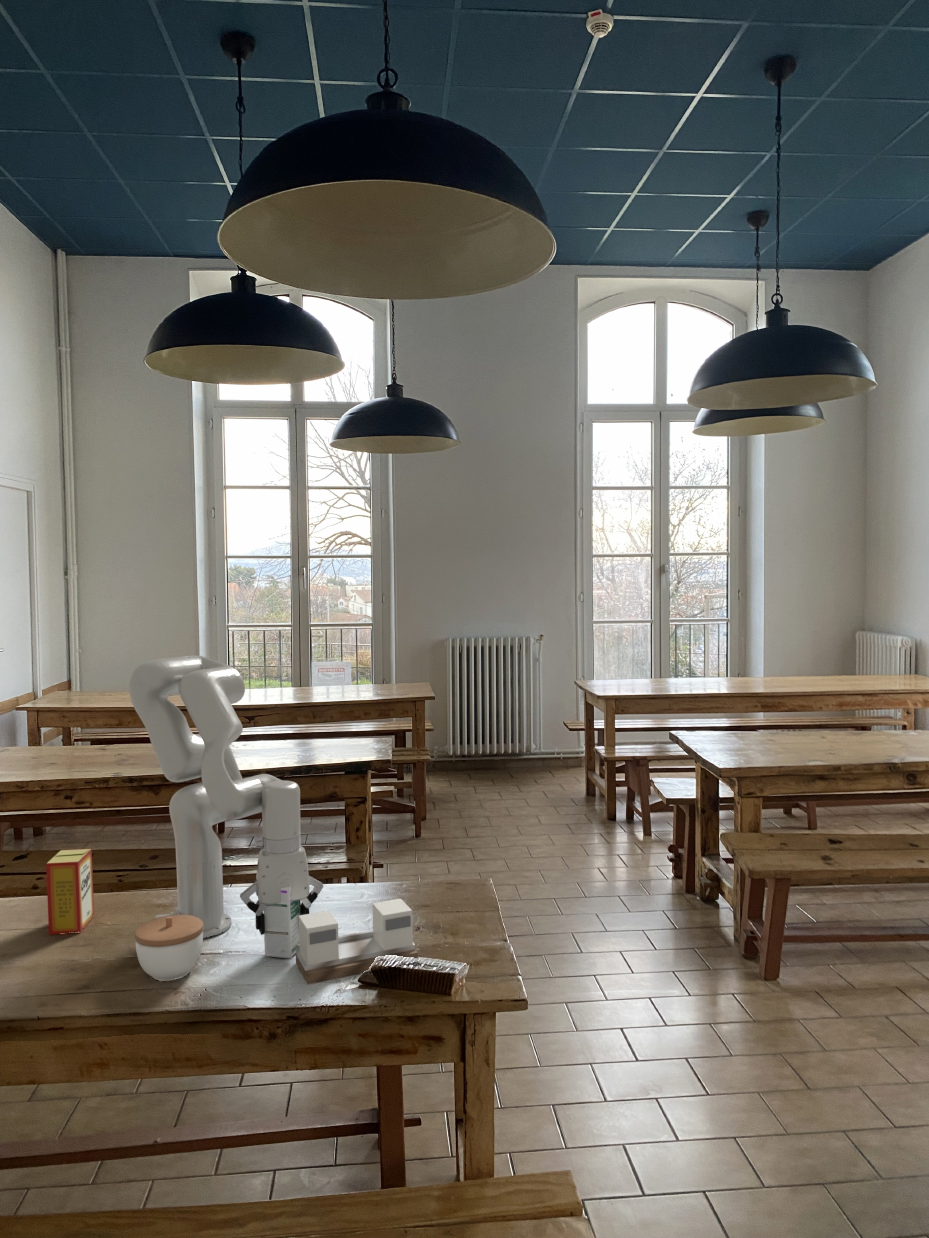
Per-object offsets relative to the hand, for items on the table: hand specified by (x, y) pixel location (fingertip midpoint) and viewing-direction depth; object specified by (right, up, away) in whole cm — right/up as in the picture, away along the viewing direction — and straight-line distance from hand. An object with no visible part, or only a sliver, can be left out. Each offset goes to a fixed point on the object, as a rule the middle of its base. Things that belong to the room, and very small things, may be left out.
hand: (282, 928), depth 179 cm
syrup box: (0, -5, 0) cm, 5 cm away
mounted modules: (+16, -2, -5) cm, 16 cm away
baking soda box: (-50, -5, +17) cm, 53 cm away
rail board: (+16, -5, -5) cm, 17 cm away
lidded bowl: (-20, -6, -8) cm, 22 cm away
